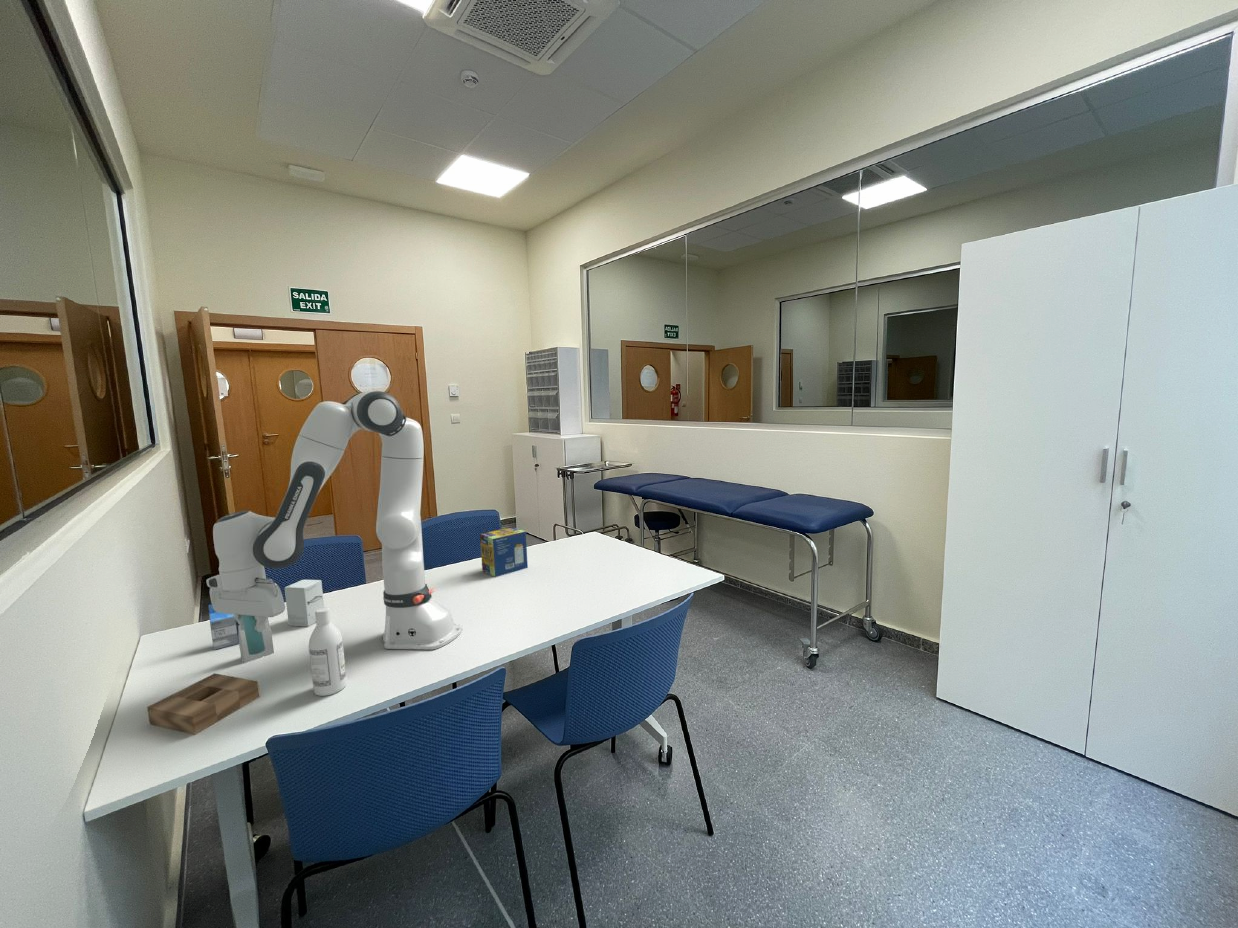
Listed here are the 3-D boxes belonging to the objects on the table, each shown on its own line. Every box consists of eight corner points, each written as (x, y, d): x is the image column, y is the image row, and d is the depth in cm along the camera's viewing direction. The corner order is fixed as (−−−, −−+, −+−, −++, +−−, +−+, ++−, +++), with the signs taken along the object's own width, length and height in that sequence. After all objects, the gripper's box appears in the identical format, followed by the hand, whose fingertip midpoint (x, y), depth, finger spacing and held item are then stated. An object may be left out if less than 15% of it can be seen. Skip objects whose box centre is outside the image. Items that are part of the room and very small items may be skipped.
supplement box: (308, 627, 157) (303, 588, 156) (287, 625, 159) (283, 587, 157) (326, 617, 164) (322, 579, 163) (306, 615, 166) (302, 578, 164)
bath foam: (340, 677, 127) (331, 601, 125) (352, 686, 123) (343, 607, 120) (309, 690, 122) (300, 610, 119) (320, 700, 117) (311, 618, 115)
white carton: (274, 653, 141) (269, 618, 140) (244, 662, 136) (240, 627, 135) (270, 649, 144) (265, 615, 142) (241, 658, 139) (236, 623, 137)
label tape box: (213, 650, 144) (207, 609, 142) (213, 645, 147) (207, 605, 145) (251, 640, 149) (246, 600, 148) (250, 636, 152) (245, 596, 151)
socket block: (259, 696, 120) (257, 680, 119) (195, 734, 107) (192, 716, 106) (216, 688, 124) (214, 673, 123) (149, 723, 111) (147, 706, 110)
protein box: (481, 571, 204) (479, 533, 202) (515, 562, 214) (512, 526, 212) (494, 577, 196) (492, 538, 194) (528, 567, 207) (526, 530, 205)
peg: (268, 648, 129) (260, 603, 127) (255, 655, 126) (247, 609, 124) (258, 647, 130) (250, 602, 128) (245, 654, 127) (236, 608, 125)
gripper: (287, 574, 125) (296, 627, 127) (227, 571, 131) (236, 621, 133) (262, 584, 119) (272, 639, 121) (201, 580, 125) (211, 632, 127)
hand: (253, 630), depth 127 cm, fingers closed on peg, 3 cm apart
